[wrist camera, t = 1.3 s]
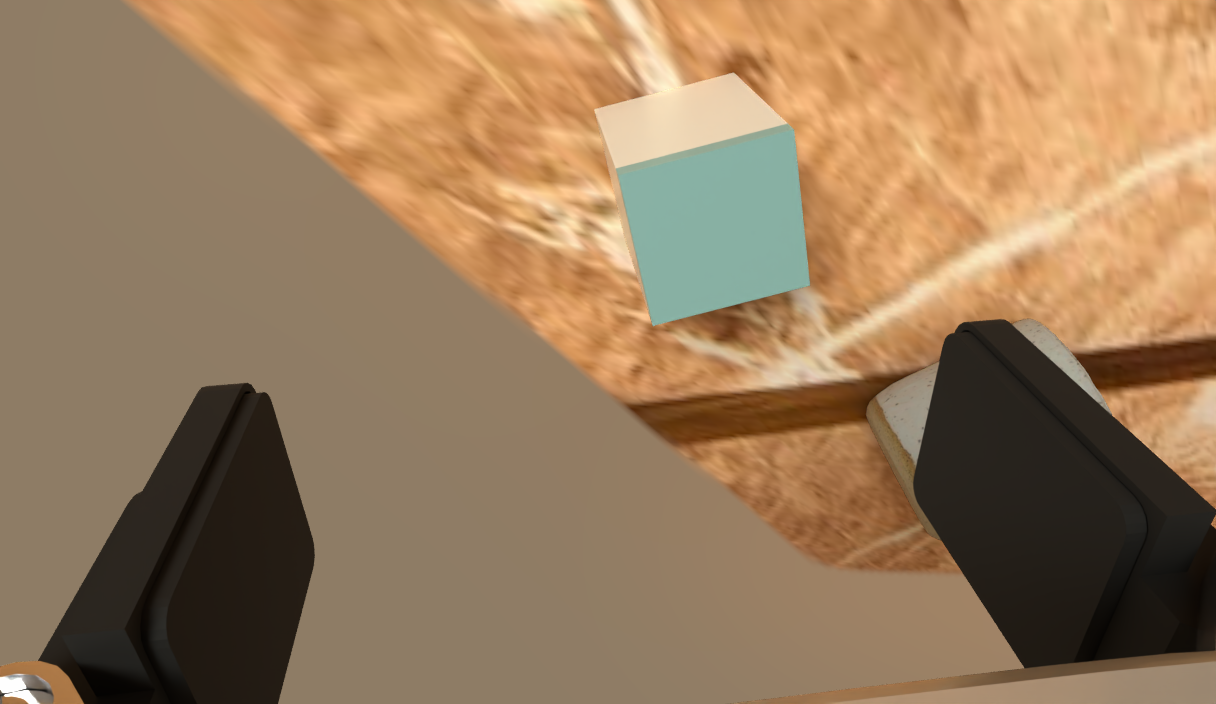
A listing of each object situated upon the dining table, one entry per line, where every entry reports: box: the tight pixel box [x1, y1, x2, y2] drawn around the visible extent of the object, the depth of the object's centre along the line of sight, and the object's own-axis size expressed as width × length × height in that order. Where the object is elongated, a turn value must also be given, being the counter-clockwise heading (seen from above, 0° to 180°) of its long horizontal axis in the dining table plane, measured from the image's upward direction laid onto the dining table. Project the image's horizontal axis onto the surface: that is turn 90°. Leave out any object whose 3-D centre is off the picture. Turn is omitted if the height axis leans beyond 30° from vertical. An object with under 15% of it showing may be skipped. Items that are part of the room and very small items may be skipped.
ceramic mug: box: [866, 319, 1112, 540], centre depth 36 cm, size 11×8×8 cm
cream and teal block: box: [594, 73, 810, 326], centre depth 28 cm, size 5×5×7 cm
